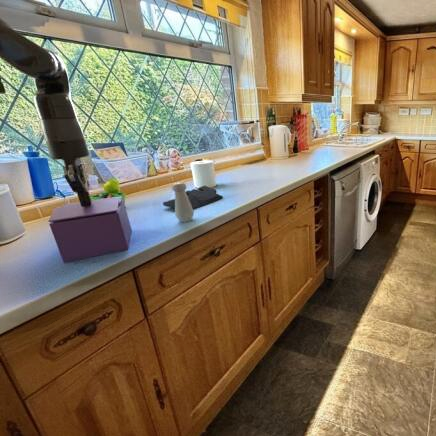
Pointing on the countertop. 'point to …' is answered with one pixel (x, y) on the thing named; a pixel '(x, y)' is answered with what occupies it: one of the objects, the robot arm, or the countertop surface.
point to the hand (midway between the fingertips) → (87, 205)
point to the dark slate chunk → (198, 197)
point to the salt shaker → (182, 203)
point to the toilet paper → (203, 173)
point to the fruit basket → (110, 190)
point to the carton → (92, 233)
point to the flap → (84, 210)
